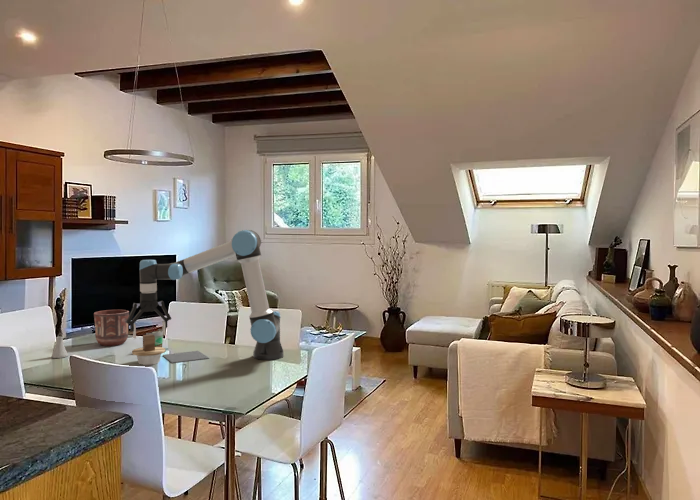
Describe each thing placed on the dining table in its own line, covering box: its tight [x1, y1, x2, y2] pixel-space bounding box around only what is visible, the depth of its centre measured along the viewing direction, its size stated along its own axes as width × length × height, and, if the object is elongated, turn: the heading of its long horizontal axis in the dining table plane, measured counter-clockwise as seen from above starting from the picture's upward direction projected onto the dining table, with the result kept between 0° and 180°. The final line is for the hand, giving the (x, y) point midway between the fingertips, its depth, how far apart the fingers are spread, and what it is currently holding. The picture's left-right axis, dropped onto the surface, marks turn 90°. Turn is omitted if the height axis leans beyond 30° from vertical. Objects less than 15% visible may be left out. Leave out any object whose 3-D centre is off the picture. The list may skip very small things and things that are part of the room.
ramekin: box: [136, 354, 162, 366], centre depth 259 cm, size 11×11×5 cm
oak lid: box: [131, 334, 166, 357], centre depth 259 cm, size 15×15×8 cm
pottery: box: [93, 309, 130, 347], centre depth 300 cm, size 18×18×18 cm
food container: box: [145, 328, 164, 347], centre depth 286 cm, size 12×6×10 cm, turn 168°
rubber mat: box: [162, 350, 210, 364], centre depth 271 cm, size 18×18×1 cm
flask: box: [51, 336, 69, 359], centre depth 270 cm, size 7×7×10 cm
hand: (149, 336), depth 259 cm, fingers open, 13 cm apart
